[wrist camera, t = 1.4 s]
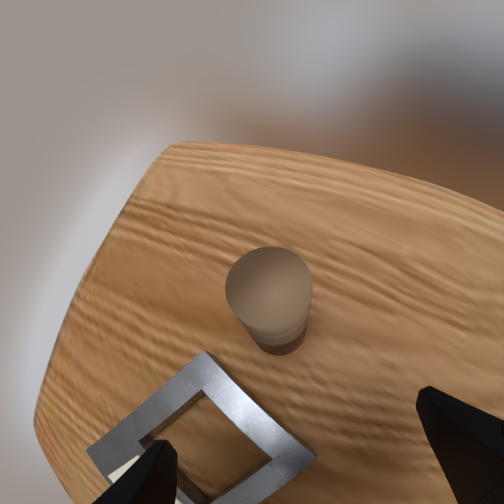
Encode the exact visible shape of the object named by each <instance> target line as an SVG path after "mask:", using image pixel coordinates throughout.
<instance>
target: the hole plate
mask: <svg viewBox="0 0 504 504" xmlns="http://www.w3.org/2000/svg"><path fill="white" fill-rule="evenodd" d="M205 394H207V395H208V396H209V398H210V399H211V400H212V401H213V402H214V403H215V404H216V405H217V406H218V407H219V408H220V409H221V410H222V411H223V412H224V413H225V414H226V415H227V416H228V417H229V418H230V420H231V421H232V422H233V423H235V424H236V425H237V426H238V427H239V428H240V429H241V430H242V431H243V432H244V433H245V434H246V435H247V436H248V437H249V438H250V439H251V440H252V441H253V442H254V443H255V444H257V445H258V446H259V447H260V448H261V449H262V450H263V451H264V452H266V453H267V454H268V455H269V456H270V457H269V458H268V459H266V460H265V461H264V462H263V463H261V464H260V465H259V466H257V467H256V468H255V469H253V470H252V471H251V472H249V473H248V474H247V475H245V476H244V477H243V478H241V479H240V480H238V481H237V482H236V483H234V484H233V485H231V486H230V487H228V488H227V489H225V490H224V491H222V492H221V493H219V494H218V495H216V496H214V497H213V498H211V499H209V498H207V497H206V496H205V495H204V494H203V493H202V492H201V491H200V490H199V489H198V488H197V487H196V486H195V485H194V484H193V483H192V482H191V481H190V480H189V479H188V478H187V477H186V476H185V475H184V474H183V473H182V472H181V471H180V470H179V469H178V468H177V493H176V500H175V504H258V503H259V502H261V501H262V500H264V499H265V498H267V497H268V496H270V495H271V494H272V493H274V492H275V491H277V490H278V489H279V488H281V487H282V486H283V485H285V484H286V483H287V482H289V481H290V480H291V479H292V478H294V477H295V476H296V475H297V474H299V473H300V472H301V471H302V470H303V469H305V468H306V467H307V466H308V465H309V464H310V463H312V462H313V461H314V460H315V459H316V458H317V455H316V453H315V450H313V449H312V448H311V447H310V446H309V445H307V444H306V443H305V442H304V441H302V440H301V439H300V438H299V437H298V436H297V435H295V434H294V433H293V432H292V431H291V430H290V429H288V428H287V427H286V426H285V425H284V424H283V423H282V422H281V421H279V420H278V419H277V418H276V417H275V416H274V415H273V414H272V413H271V412H270V411H268V410H267V409H266V408H265V407H264V406H263V405H262V404H261V403H260V402H259V401H258V400H257V399H256V398H255V397H254V396H253V395H252V394H251V393H250V392H249V391H248V390H246V389H245V388H244V387H243V386H242V385H241V384H240V383H239V382H238V381H237V379H236V378H235V377H234V376H233V375H232V374H231V373H230V372H229V371H228V370H227V369H226V368H225V367H224V366H223V365H222V364H221V363H220V362H219V361H218V360H217V359H216V357H215V356H214V355H213V354H211V353H209V352H207V351H205V350H203V351H201V352H200V353H199V354H198V355H197V356H196V357H195V358H194V359H193V360H192V361H190V362H189V363H188V364H187V365H186V366H185V367H184V368H183V369H182V370H180V371H179V372H178V373H177V374H176V375H175V376H174V377H173V378H172V379H170V380H169V381H168V382H167V383H166V384H165V385H164V386H162V387H161V388H160V389H159V390H158V391H157V392H156V393H154V394H153V395H152V396H151V397H150V398H149V399H147V400H146V401H145V402H144V403H143V404H142V405H140V406H139V407H138V408H137V409H136V410H135V411H133V412H132V413H131V414H130V415H129V416H127V417H126V418H125V419H124V420H123V421H121V422H120V423H119V424H118V425H117V426H115V427H114V428H113V429H112V430H111V431H109V432H108V433H107V434H106V435H104V436H103V437H102V438H101V439H99V440H98V441H97V442H96V443H94V444H93V445H92V446H91V447H89V448H88V449H87V450H86V451H87V453H88V455H89V456H90V458H91V459H92V461H93V462H94V464H95V465H96V466H97V468H98V469H99V471H100V472H101V473H102V475H103V476H104V478H105V479H106V480H107V482H108V483H109V484H110V485H112V484H113V483H114V482H115V481H116V480H117V479H118V478H119V477H120V476H121V475H123V474H124V473H125V472H126V471H127V470H128V469H129V468H130V466H131V465H132V464H133V463H134V462H135V461H136V460H137V459H138V458H139V457H140V456H141V455H142V454H143V453H144V452H145V451H146V450H147V449H148V448H149V447H150V446H151V445H152V444H153V443H154V442H155V441H154V440H153V439H152V438H153V437H154V436H156V435H157V434H158V433H160V432H161V431H162V430H163V429H165V428H166V427H167V426H168V425H170V424H171V423H172V422H173V421H175V420H176V419H177V418H178V417H179V416H181V415H182V414H183V413H184V412H185V411H187V410H188V409H189V408H190V407H191V406H193V405H194V404H195V403H196V402H197V401H198V400H200V399H201V398H202V397H203V396H204V395H205Z"/></svg>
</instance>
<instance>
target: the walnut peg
mask: <svg viewBox="0 0 504 504" xmlns="http://www.w3.org/2000/svg"><path fill="white" fill-rule="evenodd" d="M312 288H313V287H312V277H311V273H310V271H309V269H308V267H307V265H306V264H305V262H304V261H303V260H302V259H301V258H300V257H299V256H298V255H296V254H295V253H293V252H291V251H289V250H286V249H284V248H279V247H262V248H258V249H255V250H252V251H250V252H248V253H246V254H245V255H243V256H242V257H241V258H240V259H238V260H237V261H236V263H235V264H234V265H233V266H232V268H231V270H230V271H229V274H228V276H227V280H226V286H225V292H226V298H227V301H228V303H229V306H230V307H231V309H232V311H233V312H234V313H235V315H236V316H237V318H238V319H239V320H240V322H241V323H242V324H243V326H244V327H245V328H246V330H247V331H248V332H249V334H250V335H251V337H252V338H253V339H254V341H255V342H256V343H257V345H258V346H259V347H260V348H261V349H262V350H263V351H265V352H267V353H269V354H272V355H285V354H288V353H291V352H293V351H294V350H296V349H297V348H298V347H299V346H300V345H301V343H302V341H303V339H304V336H305V332H306V326H307V320H308V314H309V308H310V302H311V295H312Z"/></svg>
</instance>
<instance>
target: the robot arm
mask: <svg viewBox="0 0 504 504" xmlns="http://www.w3.org/2000/svg"><path fill="white" fill-rule="evenodd" d="M416 410H417V412H418V415H419V417H420V420H421V423H422V425H423V428H424V431H425V434H426V436H427V439H428V441H429V443H430V445H431V447H432V449H433V451H434V453H435V455H436V457H437V459H438V461H439V463H440V465H441V467H442V470H443V472H444V474H445V476H446V478H447V480H448V482H449V484H450V487H451V489H452V491H453V493H454V496H455V498H456V500H457V502H458V504H504V420H501V419H500V418H497V417H495V416H493V415H491V414H488V413H486V412H484V411H482V410H480V409H478V408H475V407H473V406H471V405H469V404H467V403H465V402H463V401H460V400H458V399H456V398H454V397H452V396H450V395H448V394H446V393H444V392H442V391H440V390H438V389H436V388H434V387H432V386H427V387H425V388H423V389H421V390H420V391H419V393H418V397H417V401H416ZM176 493H177V452H176V450H175V449H174V448H173V446H172V445H171V444H170V442H169V441H168V440H160V439H159V440H156V441H155V442H154V443H153V444H152V445H151V446H150V447H149V448H148V449H147V450H146V451H145V452H144V453H143V454H142V455H141V456H140V457H139V458H138V459H137V460H136V461H135V462H134V463H133V464H132V465H131V466H130V468H129V469H128V470H127V471H126V472H125V473H124V474H123V475H121V476H120V477H119V478H118V479H117V480H116V481H115V482H114V483H113V484H112V485H111V486H110V487H109V488H108V489H107V490H106V491H105V492H104V493H103V494H102V495H101V497H99V498H97V499H96V500H95V501H94V502H93V503H92V504H175V500H176Z"/></svg>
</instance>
